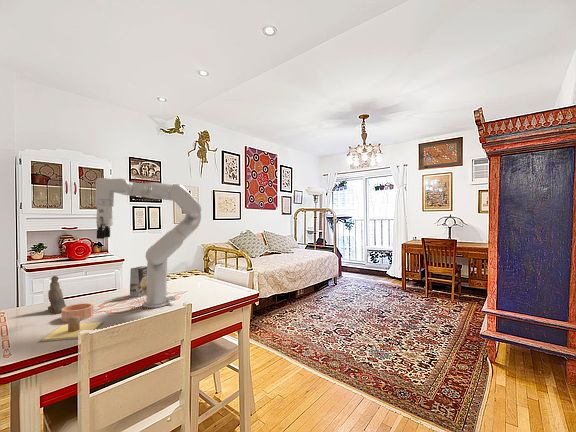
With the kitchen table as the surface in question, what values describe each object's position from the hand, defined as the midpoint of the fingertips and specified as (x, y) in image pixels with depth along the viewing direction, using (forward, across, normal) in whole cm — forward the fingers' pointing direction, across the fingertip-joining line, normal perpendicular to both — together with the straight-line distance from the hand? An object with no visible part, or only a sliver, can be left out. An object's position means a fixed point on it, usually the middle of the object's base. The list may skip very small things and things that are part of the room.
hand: (103, 237), depth 137 cm
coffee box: (+35, +24, -14) cm, 45 cm away
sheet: (+35, -29, +2) cm, 45 cm away
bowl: (+35, -11, +6) cm, 37 cm away
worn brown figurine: (+36, +4, +19) cm, 41 cm away
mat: (+35, -29, +2) cm, 46 cm away
